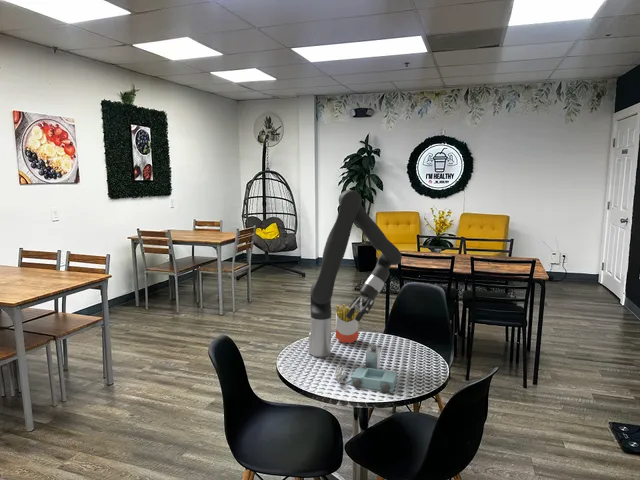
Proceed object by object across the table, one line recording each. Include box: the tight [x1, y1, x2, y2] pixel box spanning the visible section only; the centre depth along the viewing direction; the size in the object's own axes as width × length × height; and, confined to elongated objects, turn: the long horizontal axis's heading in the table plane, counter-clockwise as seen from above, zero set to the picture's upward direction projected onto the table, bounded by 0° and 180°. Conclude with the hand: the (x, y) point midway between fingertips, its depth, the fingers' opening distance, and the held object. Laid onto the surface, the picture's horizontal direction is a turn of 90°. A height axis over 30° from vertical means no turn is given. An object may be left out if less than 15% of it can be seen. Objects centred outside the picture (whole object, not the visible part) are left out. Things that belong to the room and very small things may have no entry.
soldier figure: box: [334, 364, 351, 385], centre depth 170 cm, size 8×5×12 cm
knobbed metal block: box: [364, 344, 381, 370], centre depth 179 cm, size 5×6×11 cm
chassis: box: [350, 366, 398, 394], centre depth 168 cm, size 16×12×4 cm
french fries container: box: [335, 303, 360, 344], centre depth 211 cm, size 5×11×18 cm, turn 88°
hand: (352, 319), depth 185 cm, fingers open, 8 cm apart
